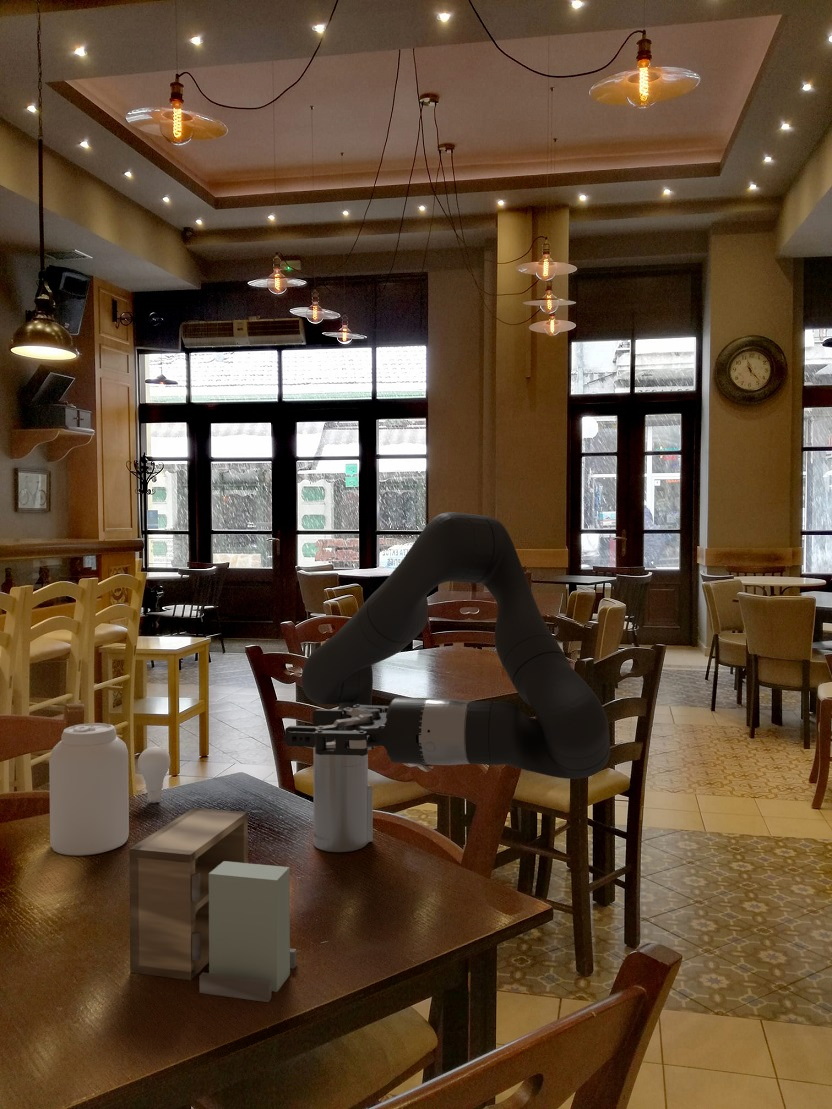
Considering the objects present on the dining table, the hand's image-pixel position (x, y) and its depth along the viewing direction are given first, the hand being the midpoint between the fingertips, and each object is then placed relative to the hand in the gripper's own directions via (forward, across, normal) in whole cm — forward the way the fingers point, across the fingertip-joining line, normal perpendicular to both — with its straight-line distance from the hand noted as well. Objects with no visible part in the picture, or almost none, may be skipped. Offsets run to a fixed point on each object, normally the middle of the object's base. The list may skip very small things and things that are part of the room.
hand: (300, 726), depth 104 cm
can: (+52, -30, +29) cm, 67 cm away
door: (+6, +4, +29) cm, 30 cm away
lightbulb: (+53, -53, +30) cm, 81 cm away
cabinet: (+11, -1, +29) cm, 31 cm away
